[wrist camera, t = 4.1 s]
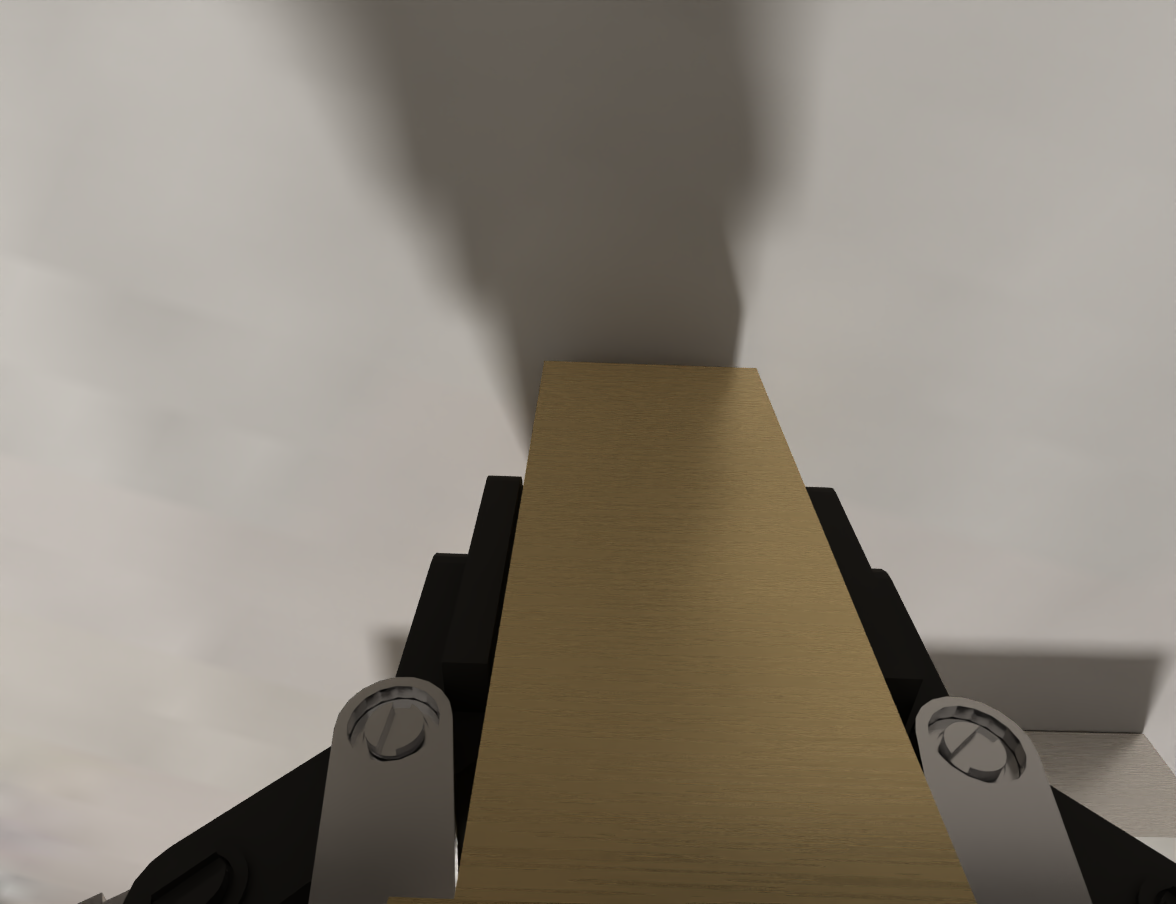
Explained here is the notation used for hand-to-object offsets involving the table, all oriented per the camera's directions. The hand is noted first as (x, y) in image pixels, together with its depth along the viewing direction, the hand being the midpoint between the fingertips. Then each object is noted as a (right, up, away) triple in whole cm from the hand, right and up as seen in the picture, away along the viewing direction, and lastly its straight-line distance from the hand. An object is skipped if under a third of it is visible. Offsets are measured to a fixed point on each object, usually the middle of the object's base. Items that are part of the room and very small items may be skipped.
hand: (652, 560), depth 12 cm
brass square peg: (0, +2, +3) cm, 3 cm away
